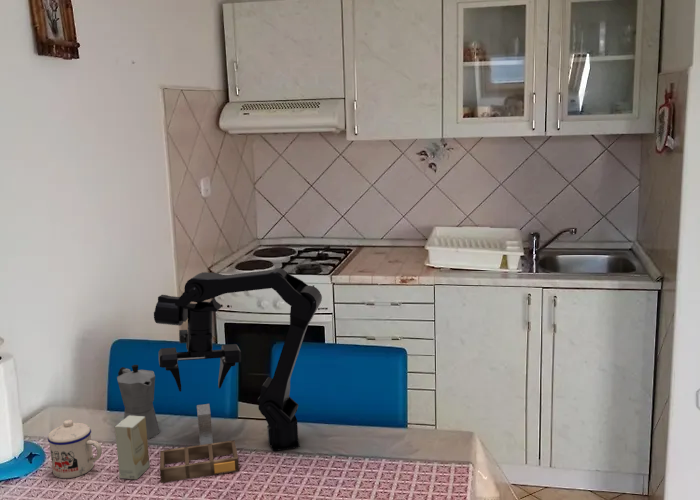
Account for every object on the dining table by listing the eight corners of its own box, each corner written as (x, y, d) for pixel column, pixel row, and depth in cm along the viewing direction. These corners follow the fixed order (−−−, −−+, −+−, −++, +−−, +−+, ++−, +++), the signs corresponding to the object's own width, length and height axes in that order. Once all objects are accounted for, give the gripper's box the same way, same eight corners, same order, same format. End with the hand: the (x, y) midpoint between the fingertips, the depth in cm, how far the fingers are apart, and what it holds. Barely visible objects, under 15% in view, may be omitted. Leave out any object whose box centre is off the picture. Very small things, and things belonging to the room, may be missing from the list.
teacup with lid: (43, 477, 154) (36, 428, 152) (68, 457, 162) (62, 411, 160) (91, 482, 151) (85, 432, 149) (114, 461, 160) (109, 414, 158)
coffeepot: (171, 434, 173) (165, 366, 169) (136, 448, 166) (129, 377, 163) (141, 416, 183) (135, 352, 180) (107, 428, 177) (100, 361, 174)
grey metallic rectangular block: (211, 433, 172) (209, 403, 171) (212, 444, 167) (210, 413, 165) (199, 435, 172) (196, 405, 170) (200, 446, 166) (197, 415, 164)
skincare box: (137, 480, 151) (131, 428, 149) (118, 479, 152) (113, 427, 150) (151, 465, 157) (146, 415, 155) (133, 464, 158) (128, 414, 156)
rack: (235, 452, 163) (234, 440, 162) (239, 471, 153) (238, 459, 153) (161, 462, 159) (160, 450, 158) (161, 483, 150) (159, 470, 149)
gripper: (234, 314, 173) (234, 373, 176) (157, 318, 167) (157, 379, 171) (242, 329, 163) (241, 391, 166) (159, 333, 157) (160, 397, 160)
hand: (199, 389), depth 166 cm, fingers open, 9 cm apart
